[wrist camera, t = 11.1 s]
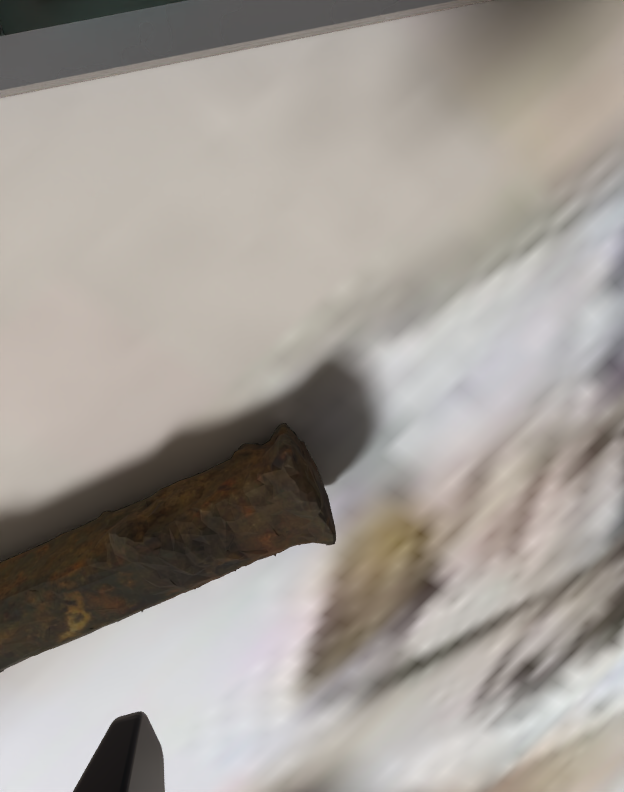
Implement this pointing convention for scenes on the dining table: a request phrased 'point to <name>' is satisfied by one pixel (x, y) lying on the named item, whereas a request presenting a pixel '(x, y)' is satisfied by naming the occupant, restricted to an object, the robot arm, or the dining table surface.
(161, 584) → the hand tool
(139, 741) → the robot arm
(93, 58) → the grey block with hole
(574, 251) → the dining table surface
